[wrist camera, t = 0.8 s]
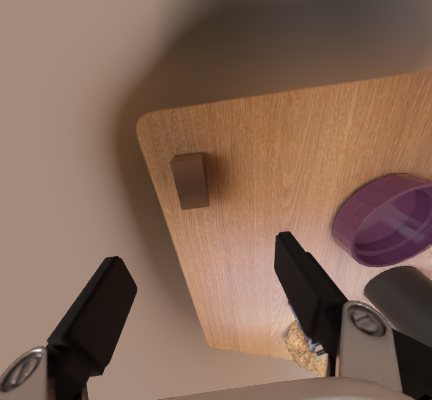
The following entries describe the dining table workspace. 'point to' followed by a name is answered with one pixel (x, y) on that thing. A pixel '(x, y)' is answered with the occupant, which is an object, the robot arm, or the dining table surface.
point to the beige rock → (303, 351)
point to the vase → (404, 301)
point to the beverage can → (314, 348)
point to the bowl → (387, 220)
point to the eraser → (190, 180)
